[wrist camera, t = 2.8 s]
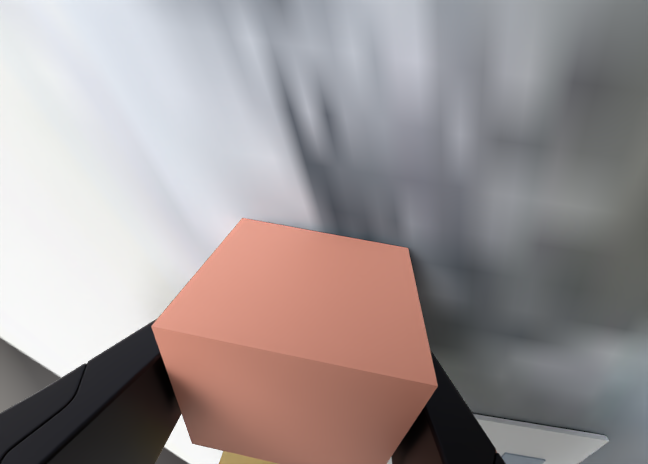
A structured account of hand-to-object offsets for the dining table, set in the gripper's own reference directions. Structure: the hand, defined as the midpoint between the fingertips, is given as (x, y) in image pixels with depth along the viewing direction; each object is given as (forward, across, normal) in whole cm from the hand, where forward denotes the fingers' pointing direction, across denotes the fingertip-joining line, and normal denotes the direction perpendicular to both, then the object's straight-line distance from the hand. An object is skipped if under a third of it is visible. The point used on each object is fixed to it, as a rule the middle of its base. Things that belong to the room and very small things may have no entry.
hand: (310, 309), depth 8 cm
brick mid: (+1, 0, 0) cm, 1 cm away
